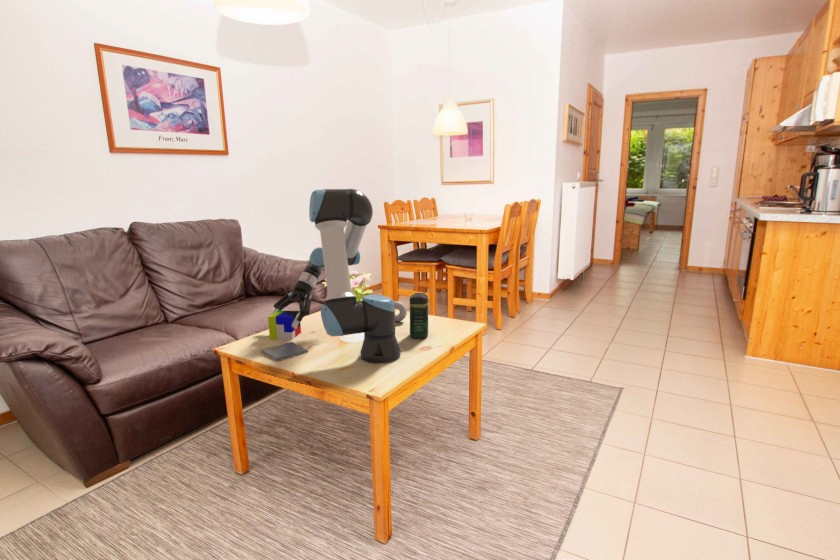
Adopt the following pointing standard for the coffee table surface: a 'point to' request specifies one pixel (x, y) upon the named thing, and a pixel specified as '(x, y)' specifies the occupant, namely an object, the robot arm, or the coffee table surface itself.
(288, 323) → the puzzle toy
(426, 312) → the coffee jar
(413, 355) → the coffee table surface
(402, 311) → the donut
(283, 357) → the slate board
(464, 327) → the coffee table surface
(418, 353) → the coffee table surface
